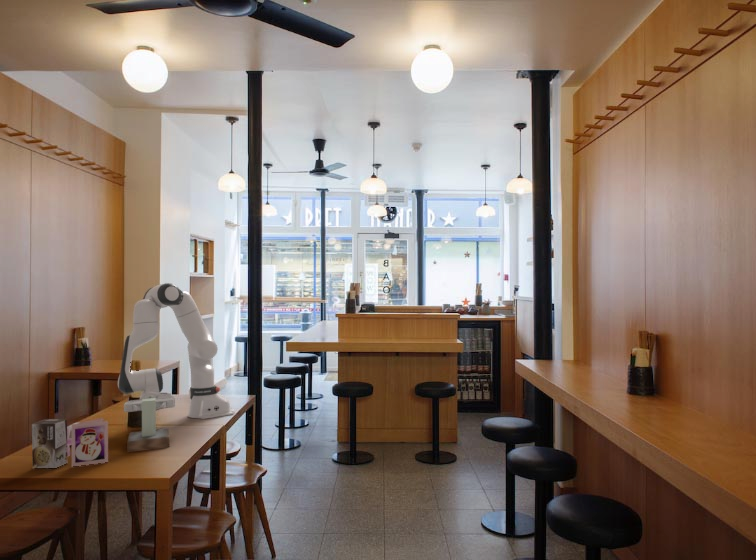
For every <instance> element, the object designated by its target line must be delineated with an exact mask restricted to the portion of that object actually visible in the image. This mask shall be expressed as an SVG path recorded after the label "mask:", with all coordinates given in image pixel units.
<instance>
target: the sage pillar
mask: <svg viewBox="0 0 756 560" xmlns="http://www.w3.org/2000/svg"><path fill="white" fill-rule="evenodd" d="M156 412H157V411H156V398H150V399H142V411H141V431H142V437H145V436H153V435H156V429H157V426H156V422H157V421H156V419H157V417H156V416H157V415H156V414H157V413H156Z"/></svg>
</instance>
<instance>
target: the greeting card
mask: <svg viewBox="0 0 756 560" xmlns="http://www.w3.org/2000/svg"><path fill="white" fill-rule="evenodd" d="M76 423H77V422H76ZM72 424H73V425H72ZM72 424H71V425H72V445H71V468H74V467H73V466H79V467H82V466H81V465H86V466H90V465H89V464H94V465H99V464H98V463H101V464H106V463H105V462H108V463H109V421H108V420H104V417H100V418H95V419H91V420H87V421H83V422H78V423H77V424H74V423H72Z"/></svg>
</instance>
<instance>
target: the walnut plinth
mask: <svg viewBox="0 0 756 560" xmlns="http://www.w3.org/2000/svg"><path fill="white" fill-rule="evenodd" d="M169 430H170V429H169V428H167V427H166V428H165V427H164V428H156V435H153V436H145V437H142V430H140V431H130V432H129V433H128V437H127V445H126V447H127V448H126V449H127V451H126V452H127V453H132V452H139V451H147V450H156V449H161V448H163V449H164V448H170V431H169Z"/></svg>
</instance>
